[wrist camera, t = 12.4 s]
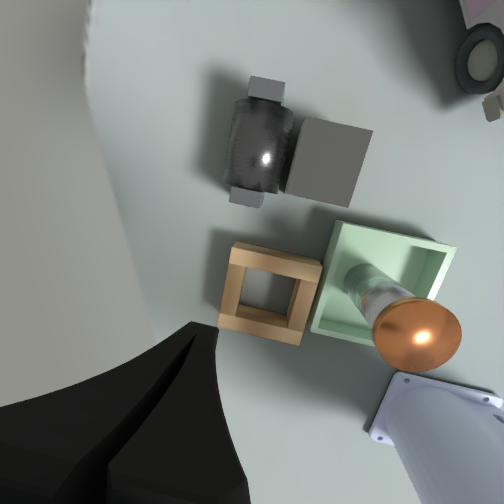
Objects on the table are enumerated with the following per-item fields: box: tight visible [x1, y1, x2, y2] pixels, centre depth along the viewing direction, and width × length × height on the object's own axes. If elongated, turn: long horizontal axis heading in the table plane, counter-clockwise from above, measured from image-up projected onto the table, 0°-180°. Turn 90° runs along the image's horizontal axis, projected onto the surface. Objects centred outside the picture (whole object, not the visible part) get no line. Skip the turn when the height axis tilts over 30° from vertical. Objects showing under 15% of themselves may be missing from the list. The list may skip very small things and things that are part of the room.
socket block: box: [217, 241, 323, 346], centre depth 20 cm, size 7×7×2 cm
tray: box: [307, 220, 457, 347], centre depth 19 cm, size 8×9×2 cm
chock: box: [284, 116, 373, 208], centre depth 16 cm, size 4×4×4 cm
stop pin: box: [343, 264, 462, 372], centre depth 16 cm, size 4×4×8 cm
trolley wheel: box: [223, 76, 295, 208], centre depth 16 cm, size 4×7×4 cm, turn 168°
